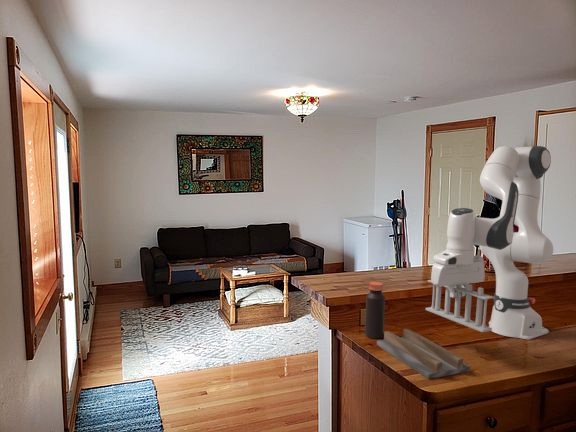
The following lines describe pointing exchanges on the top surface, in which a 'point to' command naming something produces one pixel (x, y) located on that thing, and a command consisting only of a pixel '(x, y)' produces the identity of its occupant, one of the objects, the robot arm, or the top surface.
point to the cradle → (422, 354)
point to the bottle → (375, 311)
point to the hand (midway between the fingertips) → (457, 296)
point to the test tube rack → (455, 316)
